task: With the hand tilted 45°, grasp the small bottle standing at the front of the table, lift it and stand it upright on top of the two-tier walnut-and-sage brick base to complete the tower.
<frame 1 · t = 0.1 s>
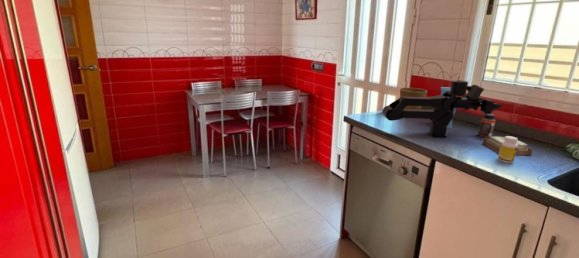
hand: (495, 103, 150), 17 cm above the worktop, tool horizontal, fingers open, 9 cm apart
supplement bottle: (484, 136, 156), on the worktop
plant pot: (409, 116, 188), on the worktop
supplement bottle 2: (505, 161, 127), on the worktop
brick base: (505, 149, 139), on the worktop
vase: (443, 125, 172), on the worktop
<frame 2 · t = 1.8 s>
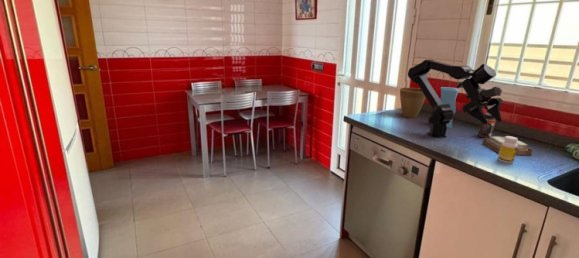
hand: (493, 122, 129), 14 cm above the worktop, tool tilted 45°, fingers open, 9 cm apart
nothing on the worktop moved.
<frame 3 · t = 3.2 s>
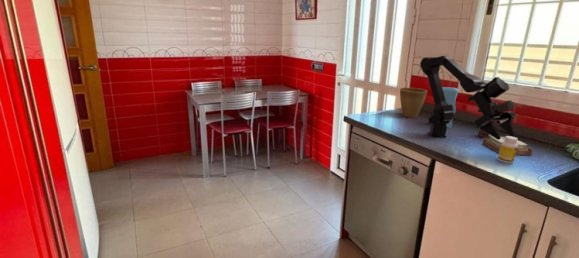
hand: (506, 137, 125), 9 cm above the worktop, tool tilted 45°, fingers open, 9 cm apart
nothing on the worktop moved.
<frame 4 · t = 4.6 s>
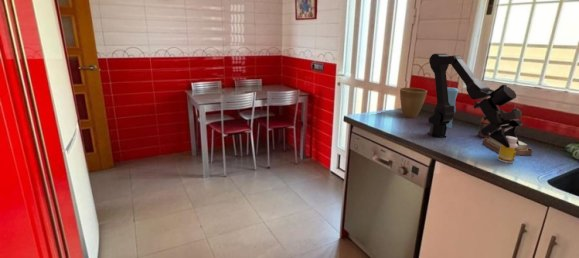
hand: (513, 146, 123), 7 cm above the worktop, tool tilted 45°, fingers closed on supplement bottle 2, 5 cm apart
supplement bottle 2: (505, 161, 127), on the worktop, touching gripper
everything else where it was.
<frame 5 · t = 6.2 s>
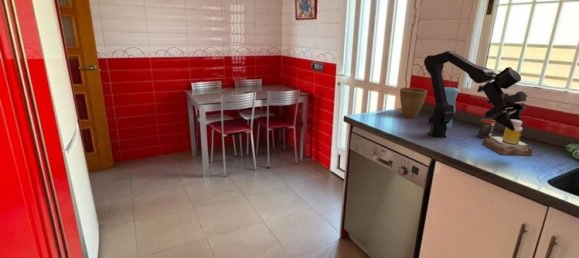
hand: (517, 129, 122), 13 cm above the worktop, tool tilted 45°, fingers closed on supplement bottle 2, 5 cm apart
supplement bottle 2: (509, 144, 126), point 6 cm above the worktop, touching gripper
everything else where it was.
when the fingers open (12 cm above the worktop, at t = 8.0 s): supplement bottle 2 drops 1 cm, resting on brick base.
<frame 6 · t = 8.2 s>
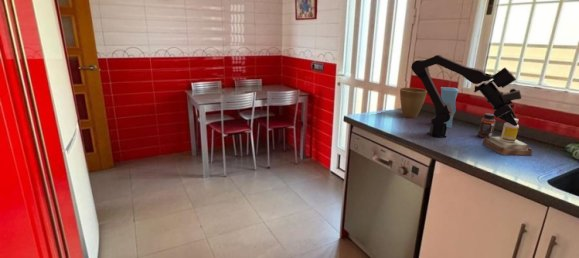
hand: (516, 123, 135), 12 cm above the worktop, tool tilted 45°, fingers open, 7 cm apart
supplement bottle 2: (507, 140, 138), point 4 cm above the worktop, touching brick base
everything else where it was.
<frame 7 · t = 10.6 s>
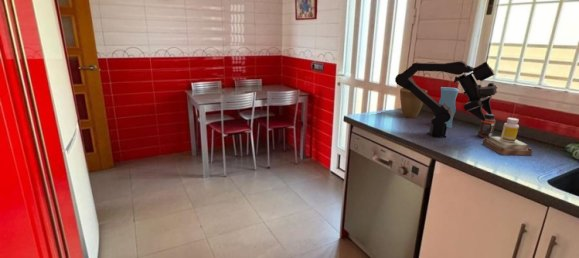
hand: (487, 117, 141), 13 cm above the worktop, tool tilted 35°, fingers open, 9 cm apart
nothing on the worktop moved.
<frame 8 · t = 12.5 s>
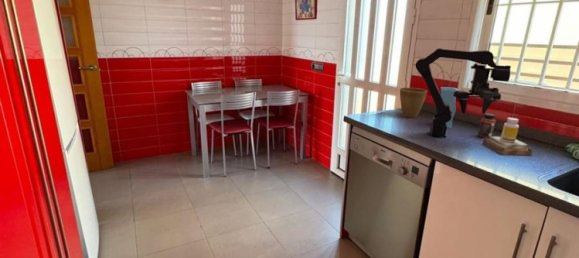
hand: (473, 113, 145), 13 cm above the worktop, tool pointing down, fingers open, 9 cm apart
nothing on the worktop moved.
at the end: supplement bottle 2 0.1 cm off-centre on the brick base, point 3.8 cm above the brick base's base; supplement bottle 2 tilted 0°; the gripper is holding nothing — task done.
